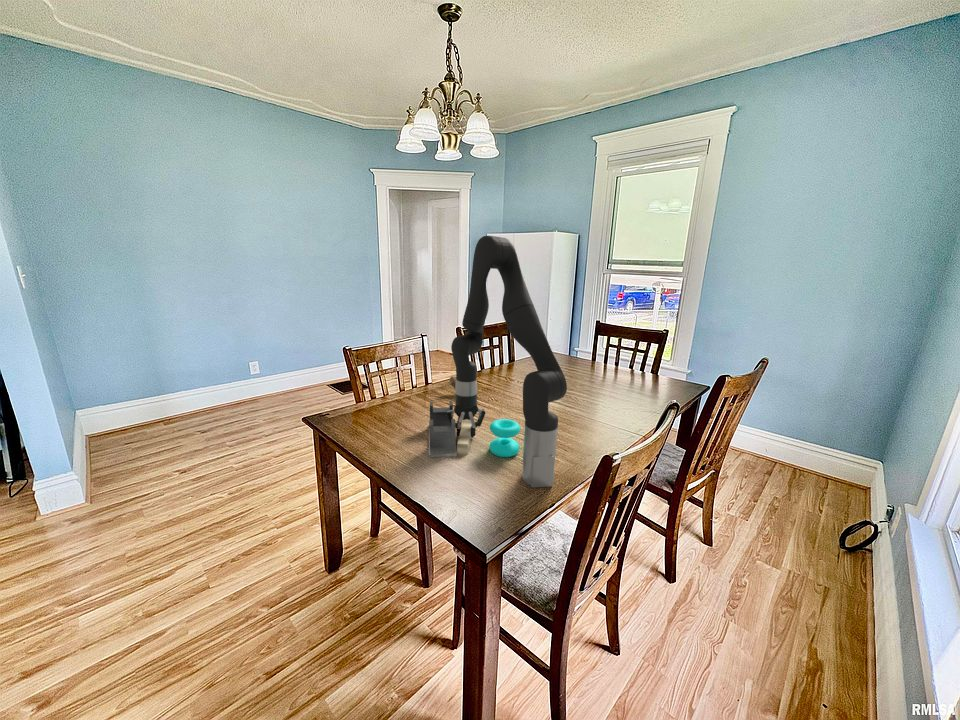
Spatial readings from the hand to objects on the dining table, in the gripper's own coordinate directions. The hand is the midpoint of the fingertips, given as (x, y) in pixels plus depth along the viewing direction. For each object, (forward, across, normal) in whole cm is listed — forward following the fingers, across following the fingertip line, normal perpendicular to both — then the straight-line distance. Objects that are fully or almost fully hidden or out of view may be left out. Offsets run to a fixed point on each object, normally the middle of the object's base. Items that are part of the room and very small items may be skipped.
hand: (466, 436), depth 136 cm
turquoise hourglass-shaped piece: (+1, +12, -10) cm, 16 cm away
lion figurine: (+1, +2, +42) cm, 42 cm away
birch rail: (+1, 0, 0) cm, 1 cm away
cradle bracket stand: (+1, -8, 0) cm, 9 cm away
